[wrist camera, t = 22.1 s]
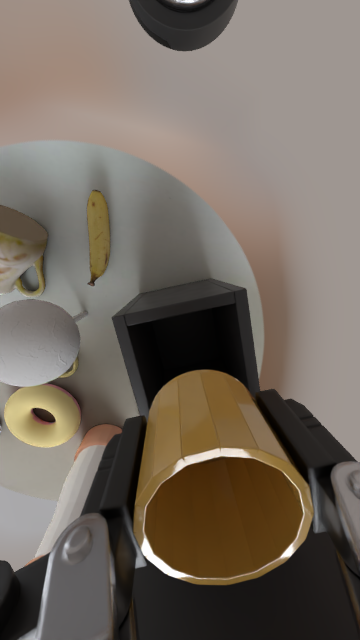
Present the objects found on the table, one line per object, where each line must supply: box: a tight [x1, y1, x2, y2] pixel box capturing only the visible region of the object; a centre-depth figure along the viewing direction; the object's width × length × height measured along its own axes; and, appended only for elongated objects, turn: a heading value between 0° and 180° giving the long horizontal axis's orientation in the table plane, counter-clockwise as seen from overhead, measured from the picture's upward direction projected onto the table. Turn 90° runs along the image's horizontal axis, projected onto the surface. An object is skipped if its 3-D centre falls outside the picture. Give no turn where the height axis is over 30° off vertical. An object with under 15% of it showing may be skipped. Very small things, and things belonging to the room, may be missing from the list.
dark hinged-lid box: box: [112, 279, 260, 422], centre depth 24 cm, size 12×10×14 cm
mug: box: [0, 205, 48, 297], centre depth 25 cm, size 8×10×10 cm
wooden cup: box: [133, 370, 314, 585], centre depth 8 cm, size 5×5×4 cm
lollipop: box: [0, 299, 88, 387], centre depth 22 cm, size 7×7×15 cm
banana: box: [87, 190, 110, 286], centre depth 26 cm, size 10×2×4 cm, turn 171°
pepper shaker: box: [24, 424, 122, 567], centre depth 25 cm, size 7×7×19 cm
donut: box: [4, 383, 81, 447], centre depth 31 cm, size 10×5×9 cm
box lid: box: [133, 526, 359, 640], centre depth 12 cm, size 13×10×5 cm
